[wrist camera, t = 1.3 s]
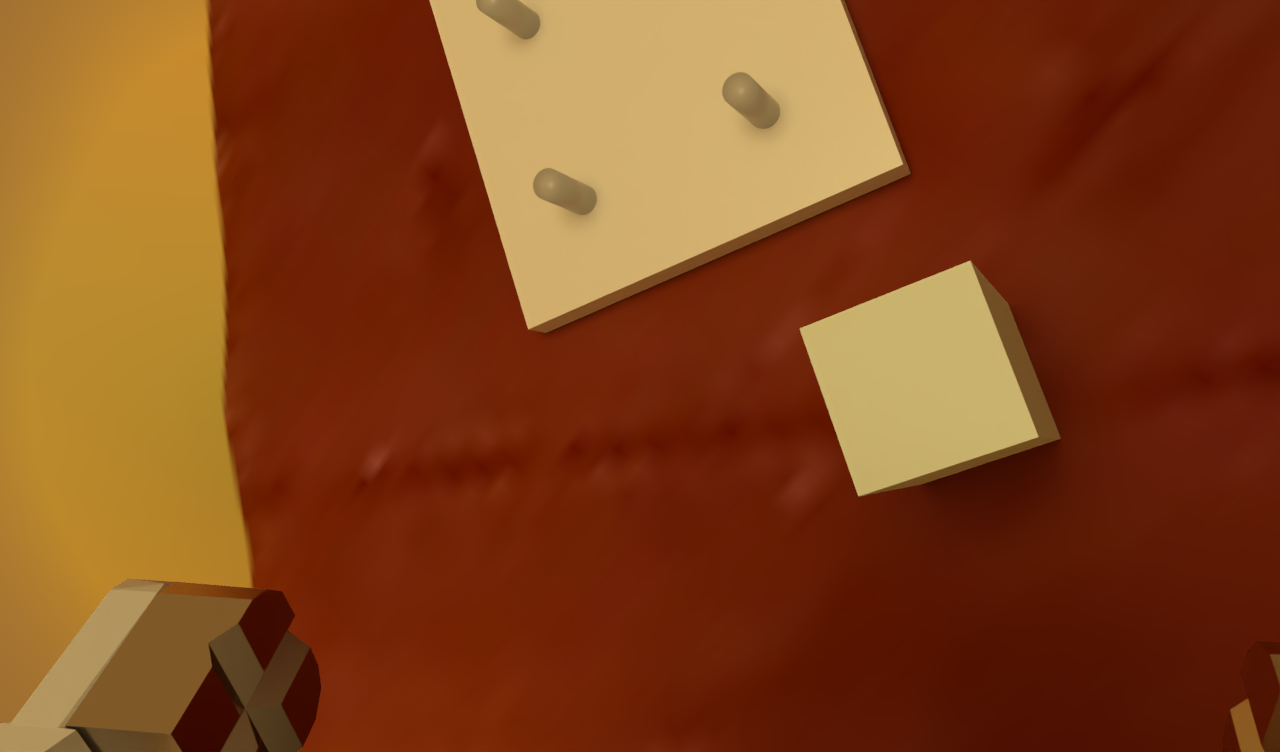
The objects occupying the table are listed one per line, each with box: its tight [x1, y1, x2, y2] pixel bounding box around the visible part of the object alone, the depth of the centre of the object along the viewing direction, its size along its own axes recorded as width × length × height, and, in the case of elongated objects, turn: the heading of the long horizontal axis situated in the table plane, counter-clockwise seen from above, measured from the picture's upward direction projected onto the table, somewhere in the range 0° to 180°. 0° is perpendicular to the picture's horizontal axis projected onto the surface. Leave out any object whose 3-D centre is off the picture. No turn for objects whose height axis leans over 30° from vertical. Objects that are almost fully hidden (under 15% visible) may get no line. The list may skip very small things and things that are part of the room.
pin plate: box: [430, 0, 911, 333], centre depth 43 cm, size 16×16×4 cm
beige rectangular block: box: [800, 261, 1061, 496], centre depth 35 cm, size 5×5×10 cm
